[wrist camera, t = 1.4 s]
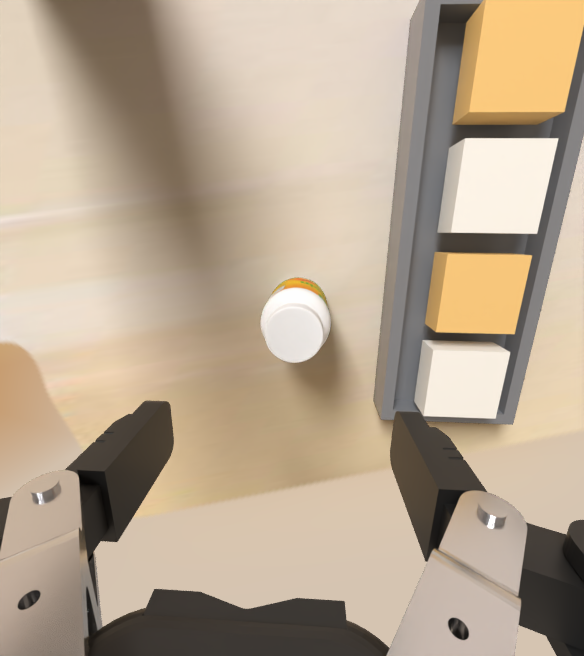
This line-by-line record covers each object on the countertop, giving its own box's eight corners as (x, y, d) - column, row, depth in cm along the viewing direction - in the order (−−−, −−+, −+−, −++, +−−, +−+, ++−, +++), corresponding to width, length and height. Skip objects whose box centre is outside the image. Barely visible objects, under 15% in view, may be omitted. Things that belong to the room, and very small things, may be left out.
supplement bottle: (338, 303, 30) (351, 334, 21) (299, 342, 32) (296, 387, 22) (296, 264, 29) (291, 278, 20) (258, 306, 31) (237, 337, 21)
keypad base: (410, 19, 24) (427, -15, 20) (575, 17, 23) (621, -19, 20) (373, 400, 33) (380, 419, 30) (491, 404, 32) (512, 424, 29)
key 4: (422, 340, 28) (433, 350, 25) (492, 341, 28) (510, 352, 25) (414, 401, 29) (423, 415, 27) (480, 403, 29) (495, 418, 27)
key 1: (466, 22, 21) (486, -4, 19) (558, 21, 21) (590, -6, 19) (452, 124, 23) (468, 112, 21) (537, 124, 23) (564, 112, 20)
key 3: (434, 252, 26) (447, 253, 23) (511, 253, 25) (532, 255, 23) (424, 323, 27) (436, 332, 25) (496, 325, 27) (514, 334, 25)
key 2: (449, 147, 23) (465, 138, 21) (532, 148, 23) (558, 138, 21) (437, 232, 25) (451, 232, 23) (515, 233, 25) (537, 233, 23)
